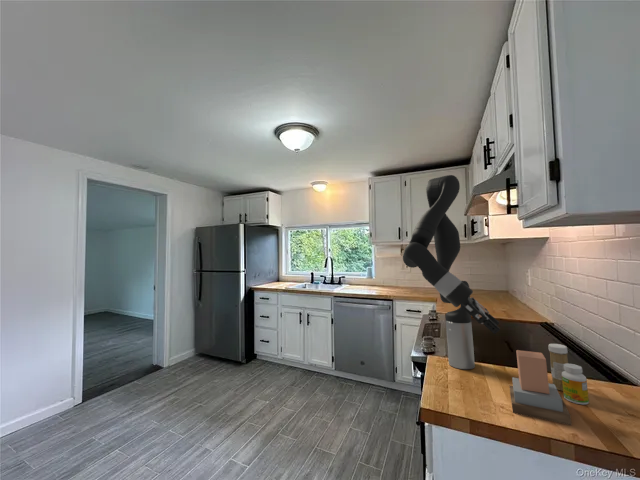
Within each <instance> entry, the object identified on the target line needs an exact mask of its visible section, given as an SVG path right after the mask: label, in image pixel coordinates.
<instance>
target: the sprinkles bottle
mask: <svg viewBox="0 0 640 480" xmlns="http://www.w3.org/2000/svg"><path fill="white" fill-rule="evenodd" d="M547 348H548V351H549V358H550V359H549V360H550V372H551V377H552V378H551V380H552V384H555V386H556V388H557V390H558V391H562V392H563V383H562V372H563V371H565V370H564V364H569V360H568V347H567V345H564V344H560V343H549V344H548V347H547Z"/></svg>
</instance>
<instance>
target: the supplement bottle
mask: <svg viewBox="0 0 640 480" xmlns="http://www.w3.org/2000/svg"><path fill="white" fill-rule="evenodd" d="M564 370H565V371H563V372H562V383H563V391H562V392H563V398H564V399H565V400H566V401H568V402H570V403H573V404H577V405H584V406H585V405H588V404H590V399H589V390H588V380H587V377H586V376H585V375H584V374H583V373H584V371H583V367H582V366H581V365H579V364H578V365H577V364H574V363H568V364H564Z"/></svg>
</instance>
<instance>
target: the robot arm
mask: <svg viewBox="0 0 640 480" xmlns="http://www.w3.org/2000/svg"><path fill="white" fill-rule="evenodd" d="M425 186H426V187H425V193H426V199H427V203H428V207H429V208H428V209H427V210H426V211H425V212H424V213H423V214H422V215H421V217H420V218H419V220H418V221H417V223H416V226H415V227H414V230H413V231H412V235H411V238H410V240H409V243H408V244H407V245H406V246H405V248H404V251H403V254H402V261H403V263H404V264H405V266H406V267H408V268H411V269H412V268H417V267H418V268H419V270H420V271H421V274H422V277H423V278H424V279H425V280H426V281H427V282H428V283H429V284H430V285H432V286H433V288H435V290H436V291H437V292H438V293H439V297H440V300H441V302H443V303H445V304H451V305H452V306H454V307H455V308H457V309H454V310H451V311H447V312H446V313H445V329H446V331H445V332H446V342H447V343H446V344H447V358H448V360H447V361H448V364H449V365H450V366H451V367H452V368H455V369H459V370H460V369H461V370H472V369H474V368H475V367H476V366H475V365H476V364H475V354H474V353H475V352H474V351H475V349H474V340H473V338H474V337H473V328H472V327H473V326H472V324H473V323H472V318H473V319H474V320H475V321H476V322H477V323H478V324H480V325H484V327H486V328H487V329H488V330H489V331H490V332H492V334H497V333H498V332H500V330H501V329H500V327H499V326H498V325H500V322H499V320H497V319H496V318H495V317H494V316H493V315H492V314H491V313H490V312H489V311H488V309H487V308H486V307H484V306H483V304H481V303H480V302H479V301H478V300H476V299H475V298H474V297H471V295H472V294H473V290H472V288H471V287H470V285H469V284H470V283H469V282H468V281H466V280H461V279H460V278H458V277H457V276H456V275H454V274H453V273H452V272H450V269H451V267H452V265H453V264H454V262H455V260H456V259H457V257H458V256H459V254H460V251H461V239H460V238H461V237H460V231H459V230H458V228H457V227H456V225H455V224H454V223H453V221H452V220H451V219H450V218H449V216H448V215H447V214H446V213H447V211H449V209H450V207H451V206H452V205H453V202H454V201H455V200H456V198H457V197H458V194H459V192H460V188H461V186H460V181H459V179H458V178H457V176H455V175H452V174H448V175H443V176H437V177H435V178H431V179H429V180H428V181H427V182H426V185H425ZM432 241H434V248H435V254H436V257H435V256H434V254H432V252H431V251H430V250H429V249H428V248H429V246H430V243H431V242H432ZM459 306H460V307H459ZM458 307H459V308H458Z"/></svg>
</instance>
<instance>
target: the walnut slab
mask: <svg viewBox="0 0 640 480" xmlns="http://www.w3.org/2000/svg"><path fill="white" fill-rule="evenodd" d="M509 395H510V402H511V408H512V413H513V414H516V413H518V414H517V415H521V414H522V415H521V416H527V417H530V418H534V419H535V418H536V419H539V420H540V419H541V420H545V421H549V422H553V423H559V424H564V425H567V426H572V418H571V417H572V415H571V414H570V412H569V410H568V407H567V406H566V404H565V401H564V400H563V398H562V394H560V393H559V395H560V397H561V399H562V405H563V412H560V411H555V410H550V409H545V408H540V407H536V406H531V405H526V404H521V403H516V402H515V397H514V391H513V385H509Z"/></svg>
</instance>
